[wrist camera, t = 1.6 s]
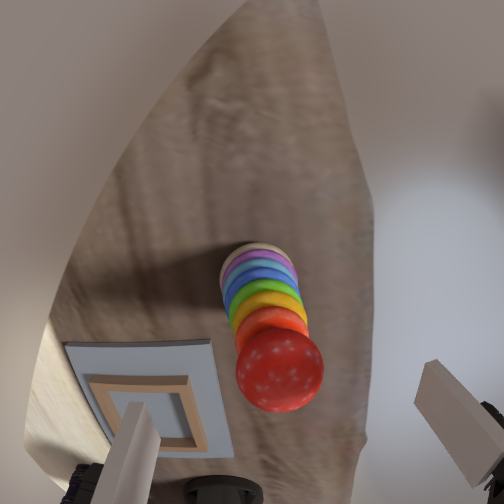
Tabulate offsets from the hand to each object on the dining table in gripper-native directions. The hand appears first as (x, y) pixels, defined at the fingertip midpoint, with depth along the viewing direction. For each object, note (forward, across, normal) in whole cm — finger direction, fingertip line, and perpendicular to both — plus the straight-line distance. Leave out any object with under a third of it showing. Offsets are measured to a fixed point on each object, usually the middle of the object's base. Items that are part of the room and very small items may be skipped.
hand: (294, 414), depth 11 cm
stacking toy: (+21, 0, 0) cm, 21 cm away
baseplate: (+20, +16, +18) cm, 32 cm away
